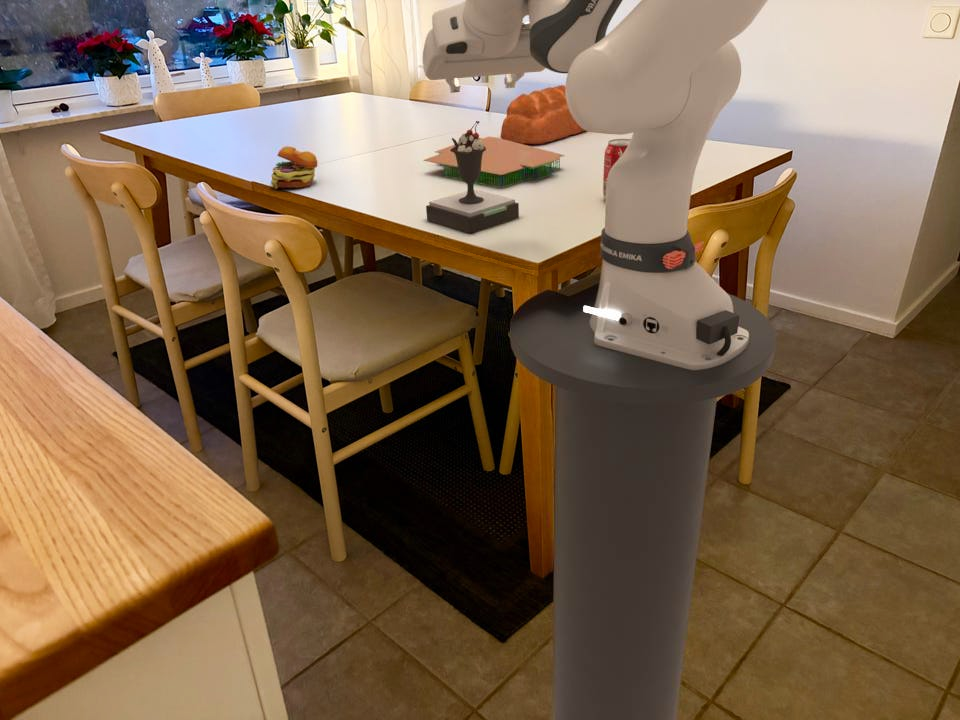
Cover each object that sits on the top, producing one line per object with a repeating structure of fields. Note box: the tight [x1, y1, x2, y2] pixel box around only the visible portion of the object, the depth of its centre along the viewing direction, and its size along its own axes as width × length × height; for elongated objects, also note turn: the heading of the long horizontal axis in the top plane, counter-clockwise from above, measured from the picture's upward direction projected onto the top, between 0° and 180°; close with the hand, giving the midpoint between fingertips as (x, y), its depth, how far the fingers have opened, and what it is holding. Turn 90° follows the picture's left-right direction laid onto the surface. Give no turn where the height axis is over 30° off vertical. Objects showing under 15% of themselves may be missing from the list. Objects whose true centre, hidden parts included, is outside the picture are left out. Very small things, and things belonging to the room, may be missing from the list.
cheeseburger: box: [270, 145, 318, 190], centre depth 176 cm, size 10×11×10 cm
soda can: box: [602, 138, 631, 200], centre depth 152 cm, size 7×7×12 cm
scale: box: [425, 188, 520, 234], centre depth 146 cm, size 13×13×4 cm
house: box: [423, 136, 565, 189], centre depth 180 cm, size 23×33×8 cm
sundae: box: [450, 120, 486, 204], centre depth 142 cm, size 7×7×15 cm
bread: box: [499, 84, 586, 145], centre depth 215 cm, size 16×31×13 cm, turn 140°
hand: (481, 87), depth 124 cm, fingers open, 8 cm apart
